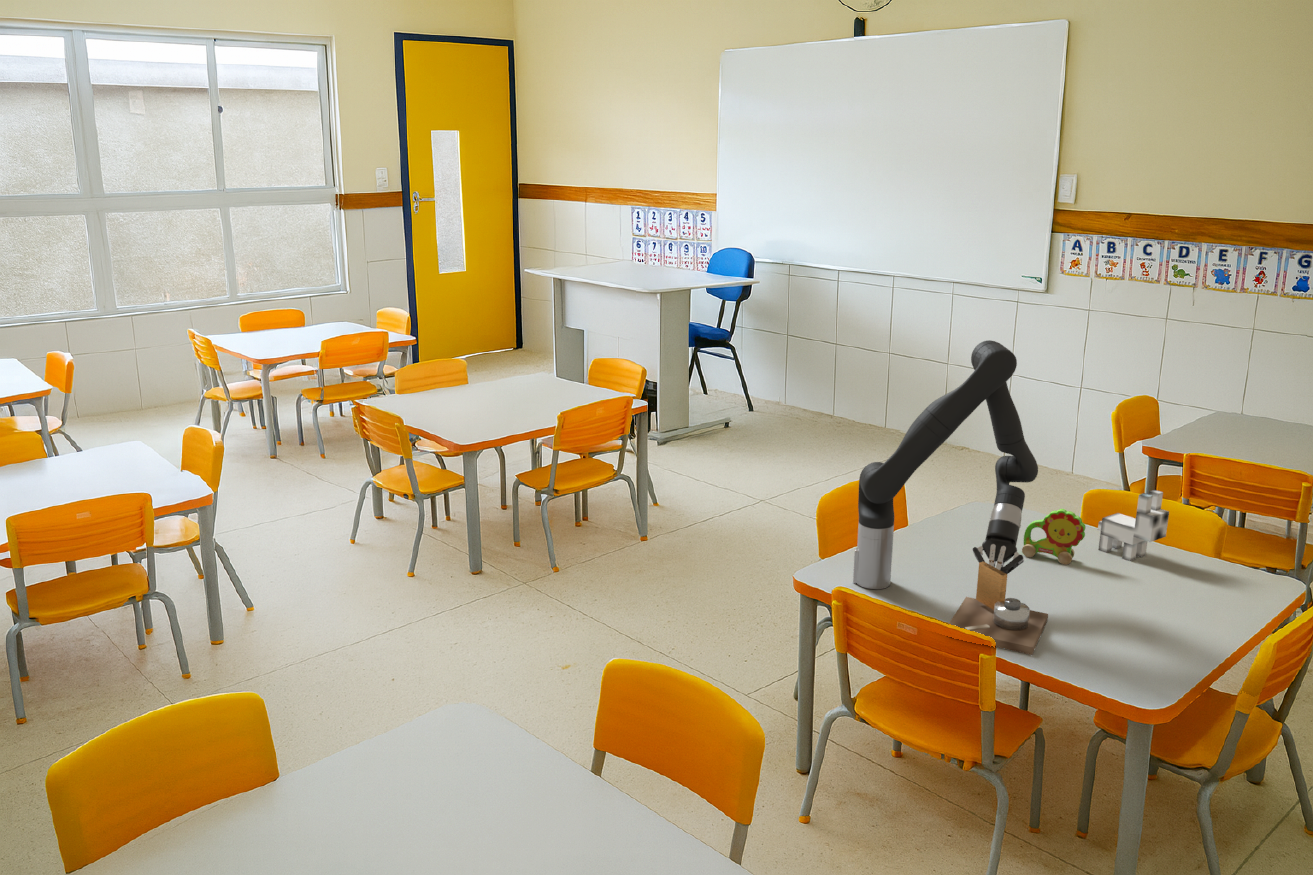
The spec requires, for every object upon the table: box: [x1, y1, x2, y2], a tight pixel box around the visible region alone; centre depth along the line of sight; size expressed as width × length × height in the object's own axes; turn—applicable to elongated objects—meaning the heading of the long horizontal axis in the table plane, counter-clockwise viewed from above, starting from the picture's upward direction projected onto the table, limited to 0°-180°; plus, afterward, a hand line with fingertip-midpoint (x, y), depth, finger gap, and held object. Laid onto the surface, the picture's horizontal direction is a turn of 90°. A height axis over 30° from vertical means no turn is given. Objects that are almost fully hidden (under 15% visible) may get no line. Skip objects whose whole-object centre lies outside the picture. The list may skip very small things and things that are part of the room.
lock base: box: [948, 596, 1049, 656], centre depth 241 cm, size 20×20×2 cm
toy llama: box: [1097, 489, 1170, 562], centre depth 283 cm, size 8×18×20 cm, turn 33°
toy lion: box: [1021, 508, 1086, 566], centre depth 281 cm, size 16×5×15 cm, turn 58°
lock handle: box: [975, 561, 1031, 630], centre depth 242 cm, size 16×8×11 cm, turn 21°
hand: (991, 586), depth 247 cm, fingers closed
